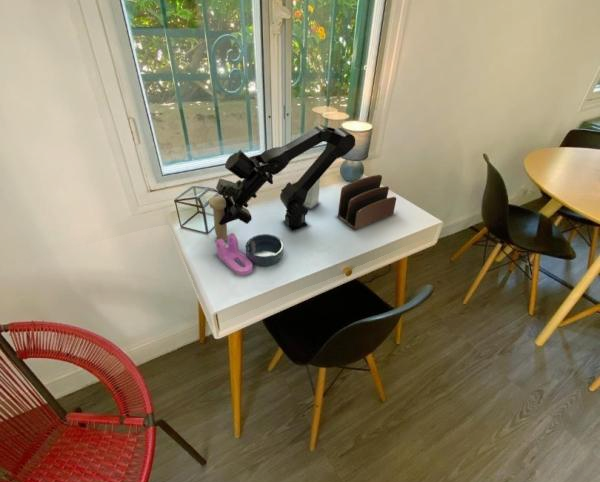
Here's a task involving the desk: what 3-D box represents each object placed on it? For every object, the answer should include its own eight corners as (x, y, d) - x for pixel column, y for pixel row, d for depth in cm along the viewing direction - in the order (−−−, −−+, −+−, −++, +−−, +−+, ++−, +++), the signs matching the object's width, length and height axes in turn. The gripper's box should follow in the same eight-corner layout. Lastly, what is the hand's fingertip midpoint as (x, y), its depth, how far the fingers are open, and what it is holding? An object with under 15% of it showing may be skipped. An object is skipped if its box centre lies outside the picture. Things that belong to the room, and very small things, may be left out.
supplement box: (318, 203, 133) (320, 177, 126) (311, 209, 128) (312, 183, 122) (306, 198, 135) (307, 173, 128) (298, 205, 131) (299, 179, 124)
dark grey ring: (271, 239, 112) (271, 230, 110) (290, 259, 104) (290, 249, 102) (240, 251, 107) (239, 241, 105) (257, 272, 99) (256, 262, 97)
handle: (218, 246, 108) (212, 208, 99) (212, 236, 113) (206, 198, 104) (232, 242, 110) (228, 204, 101) (226, 232, 115) (221, 194, 106)
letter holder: (337, 217, 125) (341, 183, 117) (375, 203, 134) (381, 171, 126) (354, 230, 118) (360, 196, 110) (393, 214, 128) (401, 182, 119)
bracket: (217, 255, 105) (214, 238, 101) (232, 248, 108) (230, 231, 104) (240, 277, 97) (239, 259, 93) (256, 269, 100) (255, 251, 96)
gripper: (224, 159, 106) (193, 194, 109) (238, 186, 92) (203, 226, 95) (249, 177, 113) (220, 210, 116) (266, 205, 99) (232, 241, 102)
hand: (218, 221), depth 107 cm, fingers closed on handle, 3 cm apart
